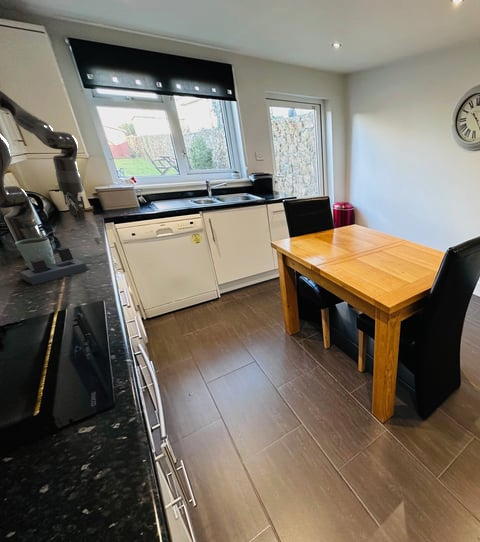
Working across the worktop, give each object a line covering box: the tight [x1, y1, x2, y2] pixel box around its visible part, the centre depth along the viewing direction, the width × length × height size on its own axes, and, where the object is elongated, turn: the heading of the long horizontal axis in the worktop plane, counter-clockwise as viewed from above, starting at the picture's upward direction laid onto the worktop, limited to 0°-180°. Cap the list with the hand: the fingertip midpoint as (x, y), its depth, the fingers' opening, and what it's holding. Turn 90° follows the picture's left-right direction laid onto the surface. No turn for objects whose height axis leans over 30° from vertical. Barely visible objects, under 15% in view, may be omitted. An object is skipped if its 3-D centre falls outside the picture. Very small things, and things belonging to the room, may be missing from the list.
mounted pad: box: [30, 258, 48, 273], centre depth 117 cm, size 4×3×8 cm
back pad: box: [56, 246, 74, 262], centre depth 130 cm, size 4×3×8 cm
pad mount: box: [19, 258, 89, 286], centre depth 121 cm, size 10×18×4 cm, turn 153°
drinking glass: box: [14, 237, 56, 270], centre depth 128 cm, size 10×10×12 cm
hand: (77, 216), depth 131 cm, fingers open, 8 cm apart
